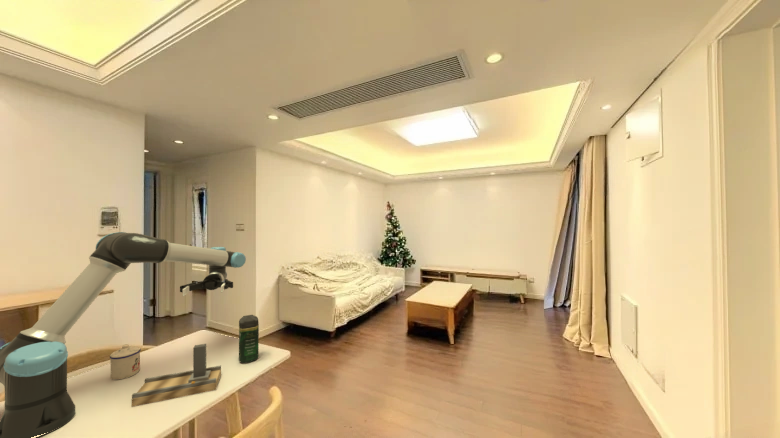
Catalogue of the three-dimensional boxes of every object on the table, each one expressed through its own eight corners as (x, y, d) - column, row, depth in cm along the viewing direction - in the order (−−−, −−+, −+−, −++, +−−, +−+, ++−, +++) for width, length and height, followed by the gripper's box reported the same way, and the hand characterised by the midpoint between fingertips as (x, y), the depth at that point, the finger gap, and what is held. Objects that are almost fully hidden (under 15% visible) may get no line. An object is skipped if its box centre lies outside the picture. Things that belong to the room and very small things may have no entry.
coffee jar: (259, 360, 123) (259, 318, 123) (239, 365, 119) (239, 321, 119) (257, 351, 131) (257, 312, 131) (238, 356, 127) (238, 315, 127)
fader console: (131, 406, 93) (131, 394, 93) (145, 388, 103) (145, 377, 103) (215, 389, 102) (215, 378, 102) (221, 374, 112) (221, 364, 112)
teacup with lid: (138, 375, 111) (138, 346, 111) (106, 383, 106) (106, 352, 106) (143, 363, 121) (143, 336, 121) (114, 369, 116) (114, 341, 116)
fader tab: (188, 383, 101) (188, 350, 101) (192, 376, 106) (192, 344, 106) (207, 379, 103) (207, 347, 103) (210, 372, 108) (210, 341, 108)
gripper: (242, 286, 142) (236, 296, 122) (182, 291, 133) (166, 303, 113) (242, 271, 142) (236, 279, 122) (182, 275, 133) (166, 284, 113)
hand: (203, 291), depth 118 cm, fingers open, 13 cm apart
